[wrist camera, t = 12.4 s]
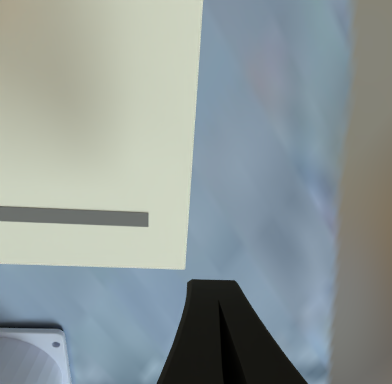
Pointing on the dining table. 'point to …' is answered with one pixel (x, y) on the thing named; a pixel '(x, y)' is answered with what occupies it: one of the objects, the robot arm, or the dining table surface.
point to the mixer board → (97, 131)
